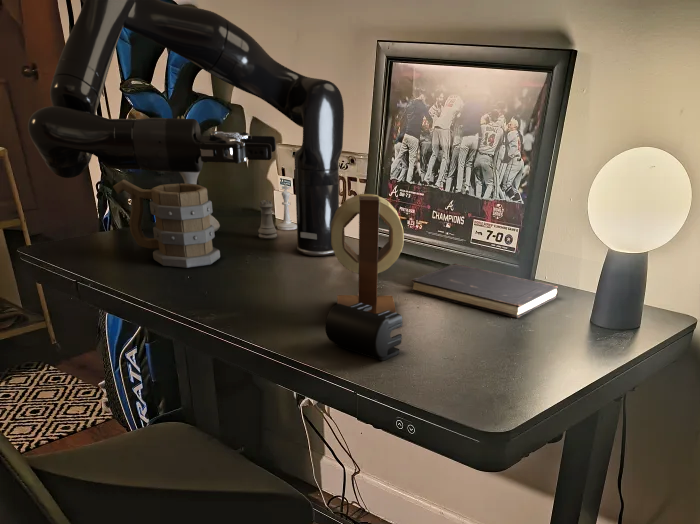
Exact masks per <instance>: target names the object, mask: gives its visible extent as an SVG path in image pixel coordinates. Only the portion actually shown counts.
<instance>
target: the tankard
mask: <svg viewBox="0 0 700 524" xmlns="http://www.w3.org/2000/svg"><path fill="white" fill-rule="evenodd" d="M112 188H113V189H114V191H115V192H116V194H118V195H120V194H121V193H123V192H126V193H128V194H129V195H130V202H131V203H130V204H131V211H130V217H129V222H128V223H129V229H130V234H131V236H132V238H133V239H134V241H135V242H136V244H137V246H138V247H141V248H145V249H148V250H154V251H153V252H152V257H153V260H154V261H156V262H157V263H158V264H160V265H162V266H163V267H169V268H170V267H171V268H172V267H173V268H174V267H175V268H184V269H188V268H189V269H190V268H196V267H203V266H210V265H213V263H215V262H216V261H217V260H220V258H221V251H220V249H218V248H216V247H214V246H213V239H215V238H216V235H215V232H214V226H212V225H210V216H209V214H210V215H212V213H213V203H212V201H211V200H210V199H209V196H208V195H209V194H208V188H207V187H206V186H205V187H204V186H203V185H200V184H197V185H196V184H185V183H168V184H166V183H165V184H160V185H157V186H155V187H152V188H151V189H143V188H141V187H139V186H137V185H135V184H133V183H131V182H129V181H128V180H126V179H125V178H124V179H122V180H120V181H118V182H117V183H116V184H114V185H113V186H112ZM144 199H145V200H150V201H149V208H150V214H151V215H153V216H154V220H155V221H154V222H155V226H153V227H152V230H153V237H148V236H146V235H145V234H144V233H143V229H142V219H143V214H144Z"/></svg>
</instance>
